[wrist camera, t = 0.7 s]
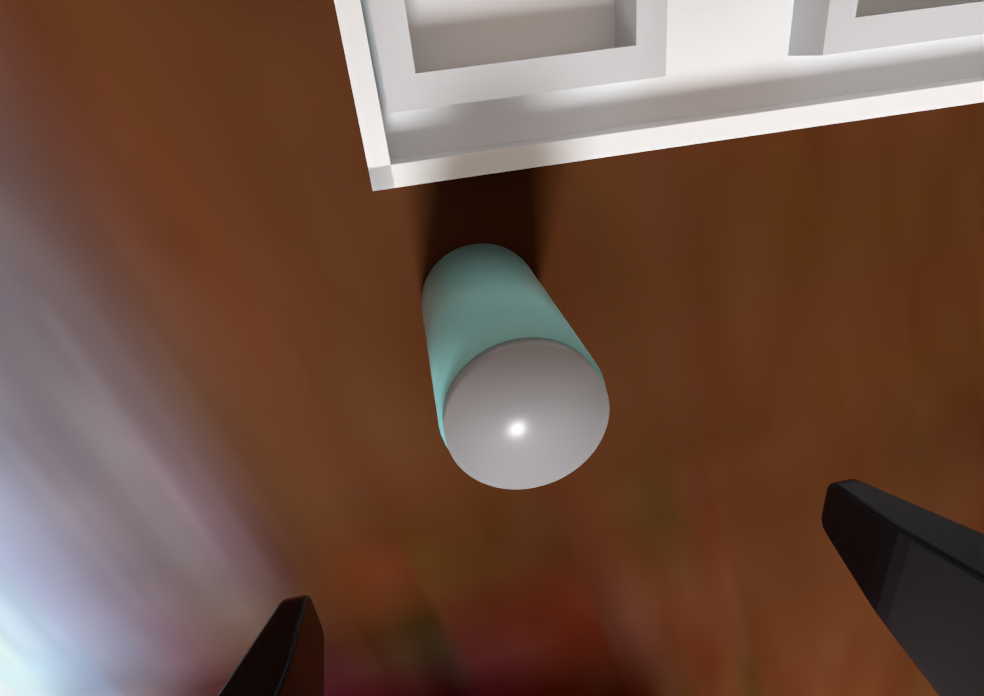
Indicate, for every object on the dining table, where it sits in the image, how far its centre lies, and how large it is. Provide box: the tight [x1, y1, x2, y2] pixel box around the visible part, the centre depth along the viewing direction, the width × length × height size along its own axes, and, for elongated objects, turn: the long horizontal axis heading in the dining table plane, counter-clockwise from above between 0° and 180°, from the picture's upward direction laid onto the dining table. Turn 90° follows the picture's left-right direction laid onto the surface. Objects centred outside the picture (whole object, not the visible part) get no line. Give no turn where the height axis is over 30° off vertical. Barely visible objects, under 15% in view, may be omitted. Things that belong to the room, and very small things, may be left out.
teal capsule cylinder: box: [421, 243, 609, 489], centre depth 16 cm, size 4×4×8 cm
